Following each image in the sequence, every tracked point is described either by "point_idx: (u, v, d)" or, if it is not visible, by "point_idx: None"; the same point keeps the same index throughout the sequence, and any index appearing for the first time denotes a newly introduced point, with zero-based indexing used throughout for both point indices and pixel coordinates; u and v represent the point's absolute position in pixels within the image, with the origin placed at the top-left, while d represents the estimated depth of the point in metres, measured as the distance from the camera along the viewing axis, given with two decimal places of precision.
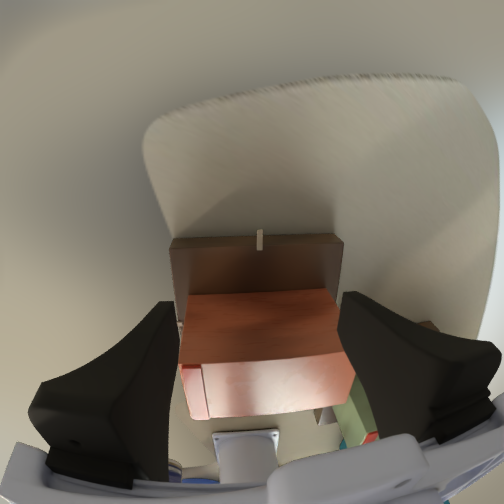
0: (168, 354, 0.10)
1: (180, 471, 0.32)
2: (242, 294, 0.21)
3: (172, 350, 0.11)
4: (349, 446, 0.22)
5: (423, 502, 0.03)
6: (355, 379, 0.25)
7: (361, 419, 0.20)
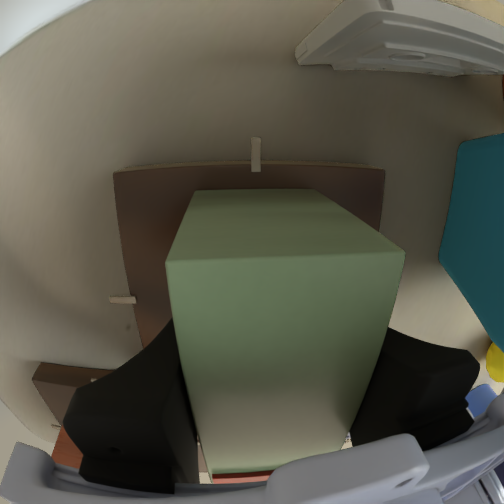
0: None
1: None
2: None
3: None
4: None
5: (423, 502, 0.03)
6: None
7: None
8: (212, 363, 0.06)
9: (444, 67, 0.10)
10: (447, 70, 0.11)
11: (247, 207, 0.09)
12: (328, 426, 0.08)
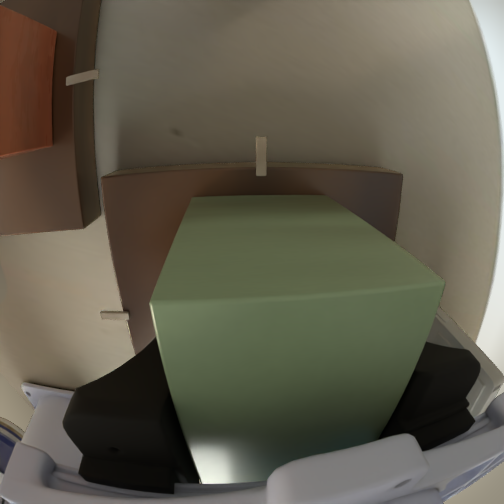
0: None
1: None
2: None
3: None
4: None
5: (423, 502, 0.03)
6: None
7: None
8: (213, 412, 0.05)
9: None
10: None
11: (252, 220, 0.08)
12: None
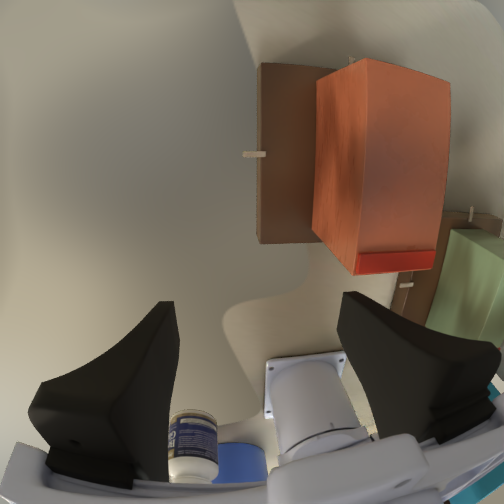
0: (168, 354, 0.10)
1: (215, 428, 0.28)
2: (315, 174, 0.18)
3: (172, 350, 0.11)
4: None
5: (423, 502, 0.03)
6: (431, 319, 0.24)
7: None
8: (501, 292, 0.16)
9: None
10: None
11: (487, 241, 0.18)
12: None
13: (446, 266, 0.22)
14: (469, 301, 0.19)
